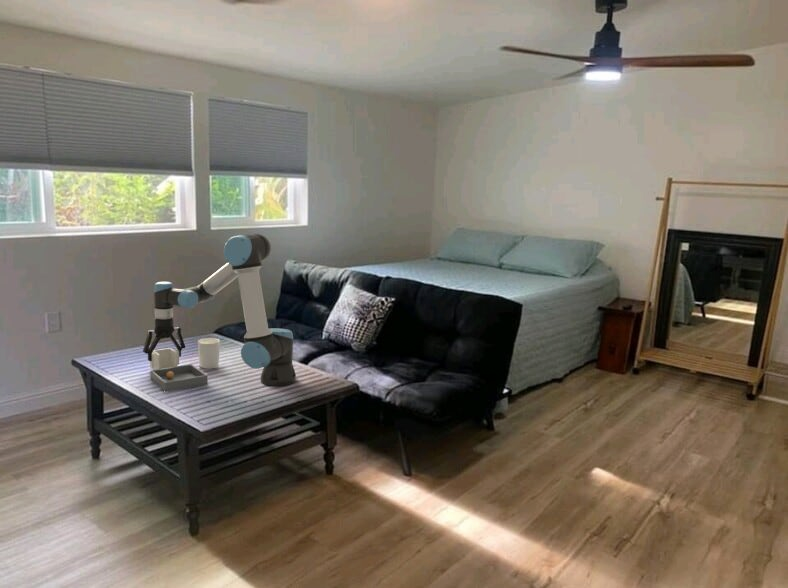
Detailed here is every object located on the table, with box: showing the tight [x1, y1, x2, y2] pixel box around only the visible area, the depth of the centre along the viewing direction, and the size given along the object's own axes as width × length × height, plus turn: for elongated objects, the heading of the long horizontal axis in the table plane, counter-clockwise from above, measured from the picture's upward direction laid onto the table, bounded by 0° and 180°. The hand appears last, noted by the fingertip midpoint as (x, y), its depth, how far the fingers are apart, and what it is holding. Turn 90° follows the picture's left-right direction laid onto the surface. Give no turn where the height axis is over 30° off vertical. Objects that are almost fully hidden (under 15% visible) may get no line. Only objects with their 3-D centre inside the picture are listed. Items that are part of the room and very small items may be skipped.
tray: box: [149, 363, 209, 393], centre depth 236 cm, size 18×18×4 cm
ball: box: [167, 371, 174, 378], centre depth 238 cm, size 3×3×3 cm
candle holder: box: [197, 337, 221, 369], centre depth 258 cm, size 10×10×12 cm
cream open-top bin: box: [152, 347, 178, 370], centre depth 248 cm, size 8×8×9 cm
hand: (164, 365), depth 249 cm, fingers open, 10 cm apart
